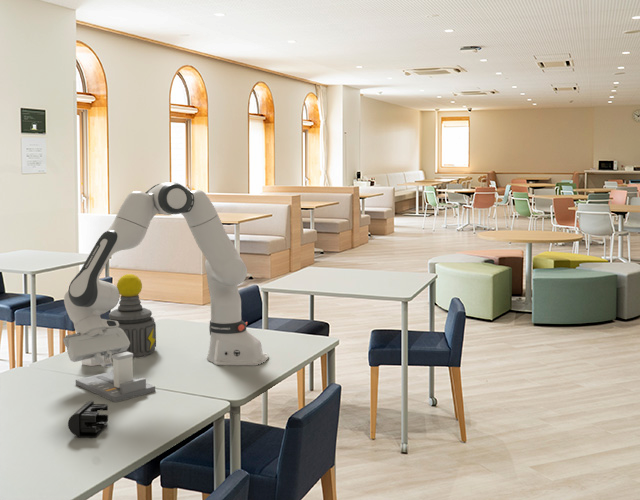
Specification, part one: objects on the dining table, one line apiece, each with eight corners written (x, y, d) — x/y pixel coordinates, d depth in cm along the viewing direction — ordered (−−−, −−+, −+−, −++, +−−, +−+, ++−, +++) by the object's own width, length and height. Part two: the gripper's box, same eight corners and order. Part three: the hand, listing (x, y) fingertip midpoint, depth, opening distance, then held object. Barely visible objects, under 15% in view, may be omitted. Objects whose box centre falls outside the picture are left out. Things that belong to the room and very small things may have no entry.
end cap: (83, 424, 185) (82, 400, 184) (108, 424, 185) (108, 400, 184) (68, 438, 175) (67, 413, 174) (95, 439, 175) (94, 413, 174)
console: (75, 384, 218) (75, 370, 218) (114, 375, 228) (114, 361, 228) (115, 402, 202) (114, 387, 202) (155, 391, 212) (155, 377, 212)
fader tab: (112, 386, 211) (111, 354, 210) (128, 382, 215) (127, 351, 213) (118, 388, 208) (117, 357, 207) (134, 384, 212) (133, 353, 211)
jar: (85, 367, 237) (83, 334, 236) (79, 362, 244) (77, 329, 242) (110, 363, 242) (109, 330, 240) (104, 358, 249) (103, 326, 247)
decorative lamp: (94, 355, 252) (91, 276, 248) (126, 343, 269) (123, 269, 266) (137, 361, 245) (134, 279, 242) (166, 348, 263) (164, 272, 259)
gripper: (64, 330, 213) (80, 367, 208) (122, 320, 228) (139, 354, 223) (58, 341, 217) (74, 378, 211) (115, 331, 231) (131, 364, 226)
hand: (107, 365), depth 217 cm, fingers closed
